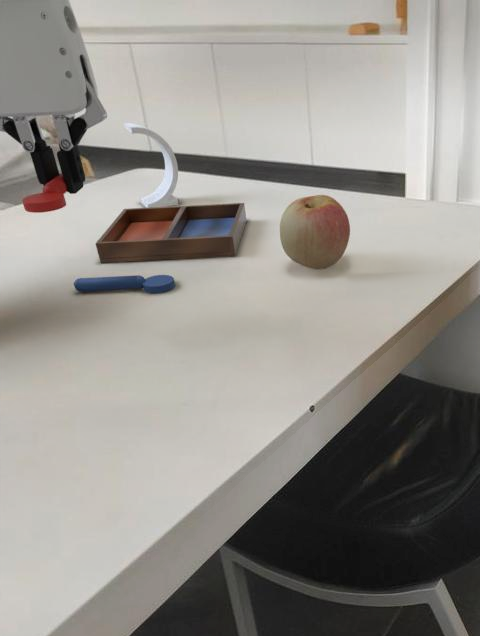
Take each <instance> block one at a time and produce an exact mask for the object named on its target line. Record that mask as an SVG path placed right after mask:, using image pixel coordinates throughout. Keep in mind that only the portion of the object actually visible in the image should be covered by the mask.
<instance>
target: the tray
mask: <svg viewBox="0 0 480 636" xmlns="http://www.w3.org/2000/svg"><path fill="white" fill-rule="evenodd" d="M246 213H247V212H246V205H245V202H235V203H234V202H231V203H213V204H195V205H190V204H189V205H173V206H167V207H150V208H146V207H134V208H131V207H129V208H124V209H122V211H121V212H120V213H119V214H118V216H116V218H115V219H114V220H113V222H112V223H111V224H110V225H109V226H108V228H107V229H106V230H105V231H104V232H103V234H102V235H101V236H100V237H99V239H98V240H96V242H95V247H96V251H97V254H98V258H99V262H100V264H107V263H109V264H111V263H126V262H128V263H129V262H149V261H165V260H167V261H168V260H182V259H183V260H186V259H203V258H204V259H205V258H224V257H225V258H227V257H236V255H237V252H238V249H239V246H240V243H241V240H242V236H243V233H244V230H245V227H246V224H247V214H246Z"/></svg>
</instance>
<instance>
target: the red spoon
mask: <svg viewBox="0 0 480 636" xmlns="http://www.w3.org/2000/svg"><path fill="white" fill-rule="evenodd" d="M67 193H68V192H67V187H66V184H65V182H64V179H63V175H62V172H60V173H59V175H58V176H56V177H55V178H54V179H52V180H51V181H50V182H48V183H47V184H46V185H45V186H43V187H42V192H39V193H34V194H31V195H27V196H24V197H23V198H22V199H21V202H22V206H23V209H24V210H25V211H26V212H28V213H33V214H34V213H37V214H38V213H39V214H41V213H48V212H53V211H57V210H61V209H63V208H65V207H66V206H67V201H66V197H65V194H67Z"/></svg>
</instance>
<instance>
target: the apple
mask: <svg viewBox="0 0 480 636" xmlns="http://www.w3.org/2000/svg"><path fill="white" fill-rule="evenodd" d="M350 235H351V225H350V220H349V217H348V214H347V212H346V210H345V209H344V207H343V206H342V205H341V203H340V202H339V201H337V200H336V199H335V198H334V197H331V196H330V195H326V194H317V195H309V196H304V197H303V196H302V197H300V198H298V199H295V200H294V201H292V202H291V203H289V204H288V206H287V207H286V208H285V210H284V211H283V213H282V215H281V218H280V223H279V238H280V243H281V244H280V245H281V247H282V249H283V251H284V253H285V254H286V256H287V257H288V258H289V259H290V260H292V261H293V262H295V263H296V264H298V265H300V266H303V267H306V268H309V269H315V270H326V269H329V268H331V267H332V266H334V265H336V263H337V262H339V261H340V259H341V258H342V257H343V256H344V253H345V252H346V250H347V248H348V244H349V242H350V241H349V240H350Z"/></svg>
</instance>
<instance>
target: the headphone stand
mask: <svg viewBox="0 0 480 636" xmlns="http://www.w3.org/2000/svg"><path fill="white" fill-rule="evenodd" d="M123 126H124V130H126V131H127V132H128V133H131V134H138V135H139V134H141V135H146V136H148V137H150V138H151V139H152V140H153V141H154V142H155V143H156V144H157V147H159V149H160V151H161V153H162V156H163V161H164V173H163V174H164V175H163V178H162V180H161V183H160V184H159V186H158V187H157V188H156V189H155V190H154V191H153V192H152V193H150V194H148V195H147V196H143V197H140V202H141V203H140V204H142V206H143V207H144V208H150V207H170V206H180V205H179V199H178V198H177V197H175V196H174V195H173V194H174V191H175V190H176V187H177V184H178V179H179V165H178V162H177V161H178V160H177V157H176V155H175V152H174V151H173V149H172V147H171V145H169V143H168V142H167V141H166V140H165V139H164V137H162V136H161V135H159V134H158V133H156V132H155V131H153V130H151V129H150V128H148V127H146V126H144V125H142V124H138V123H134V122H123Z"/></svg>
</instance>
